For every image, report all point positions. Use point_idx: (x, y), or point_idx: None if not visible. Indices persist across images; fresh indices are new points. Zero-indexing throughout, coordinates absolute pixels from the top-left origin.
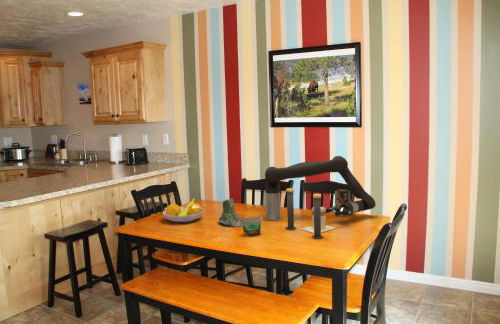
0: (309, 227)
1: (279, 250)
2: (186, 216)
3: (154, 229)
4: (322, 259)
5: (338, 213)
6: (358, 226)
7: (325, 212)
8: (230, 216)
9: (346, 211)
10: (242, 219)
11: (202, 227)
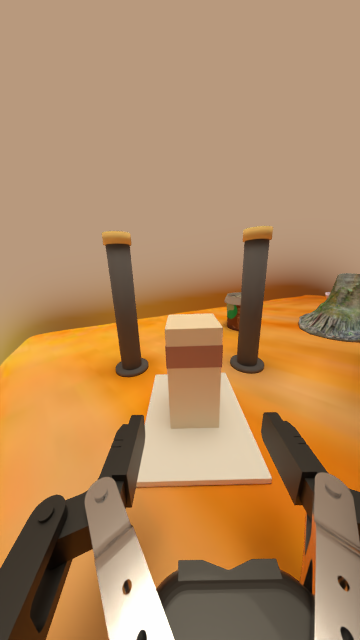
0: (224, 393)
1: (145, 324)
2: (326, 295)
3: (303, 300)
4: (68, 333)
5: (115, 440)
6: None
7: (166, 353)
8: (319, 307)
9: (5, 562)
10: (240, 294)
11: (305, 312)
